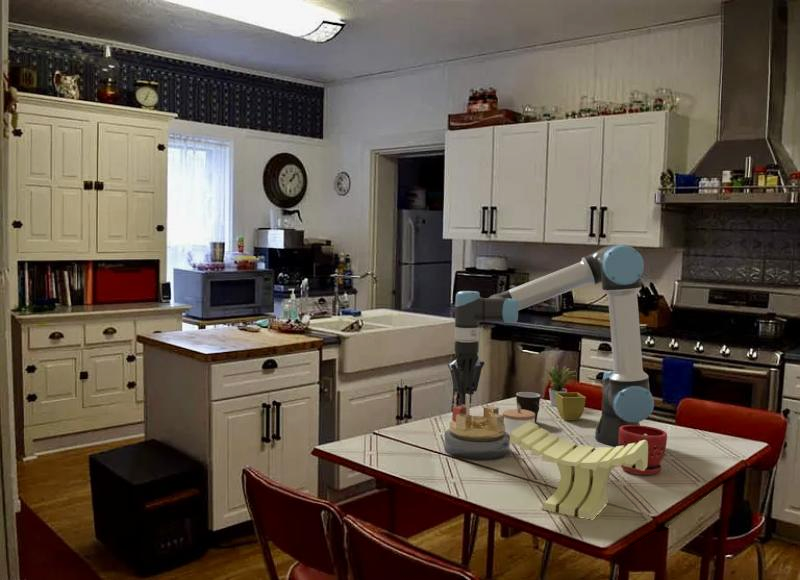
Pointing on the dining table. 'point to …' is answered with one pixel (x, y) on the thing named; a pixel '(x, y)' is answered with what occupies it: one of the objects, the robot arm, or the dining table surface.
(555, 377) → the house plant
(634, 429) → the plant pot
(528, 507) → the dining table surface
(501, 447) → the base
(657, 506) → the dining table surface
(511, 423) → the lidded jar
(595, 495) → the slatted curved stool
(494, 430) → the ring nut
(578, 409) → the flower pot
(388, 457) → the dining table surface
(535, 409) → the coffee mug
